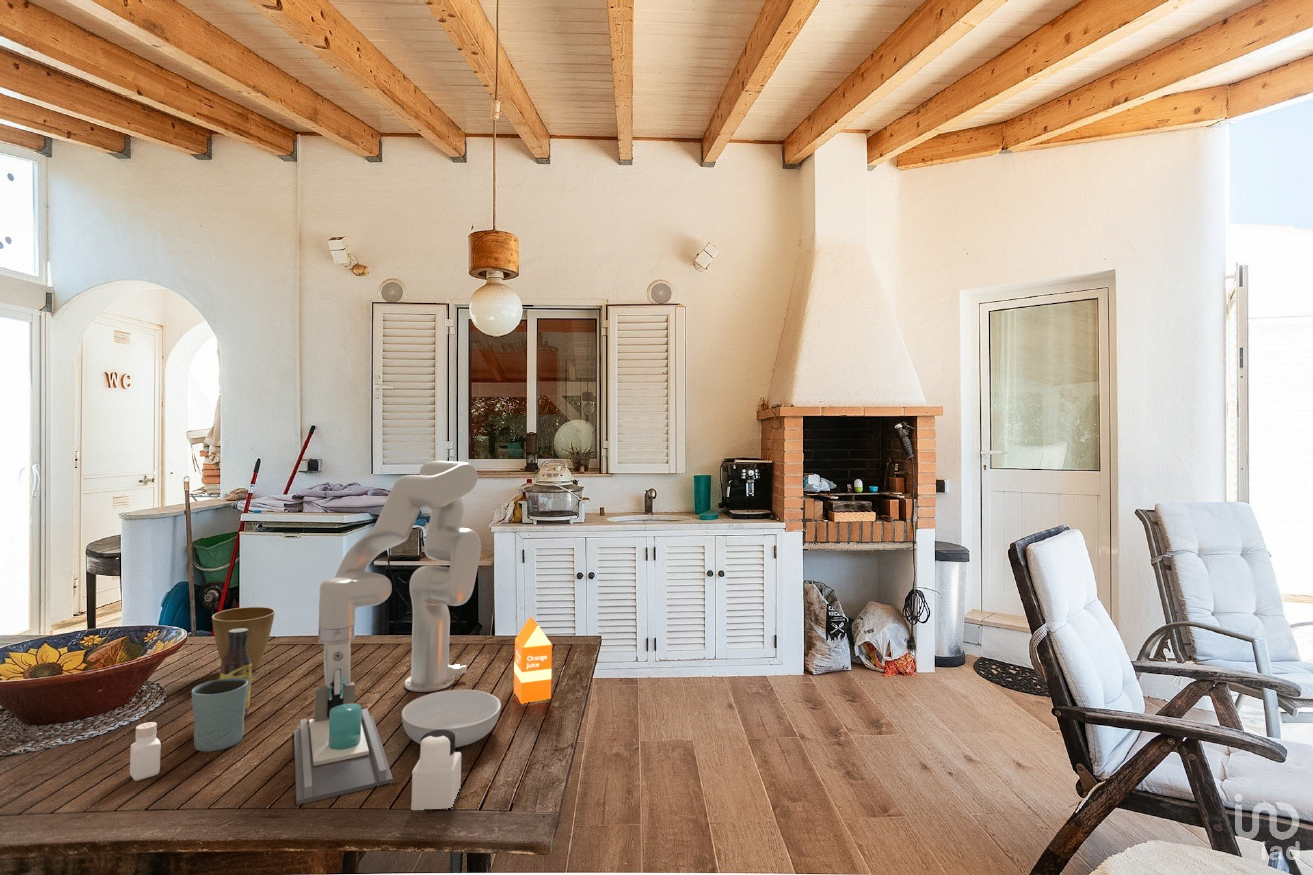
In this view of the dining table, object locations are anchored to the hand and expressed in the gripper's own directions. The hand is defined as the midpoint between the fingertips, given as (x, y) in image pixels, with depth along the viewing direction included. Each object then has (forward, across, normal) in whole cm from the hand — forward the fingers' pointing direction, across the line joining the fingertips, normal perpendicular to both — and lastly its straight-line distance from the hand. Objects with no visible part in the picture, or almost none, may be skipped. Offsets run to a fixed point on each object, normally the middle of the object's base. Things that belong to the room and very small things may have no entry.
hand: (334, 713), depth 146 cm
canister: (+1, -15, -1) cm, 15 cm away
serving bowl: (+3, -19, -22) cm, 29 cm away
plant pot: (+3, +50, +20) cm, 54 cm away
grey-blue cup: (+3, +2, +22) cm, 22 cm away
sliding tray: (+3, -10, 0) cm, 10 cm away
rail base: (+3, -17, 0) cm, 17 cm away
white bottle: (+3, -43, -14) cm, 45 cm away
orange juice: (+3, -6, -45) cm, 45 cm away
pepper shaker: (+3, -8, +33) cm, 34 cm away
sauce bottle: (+3, +16, +20) cm, 26 cm away
